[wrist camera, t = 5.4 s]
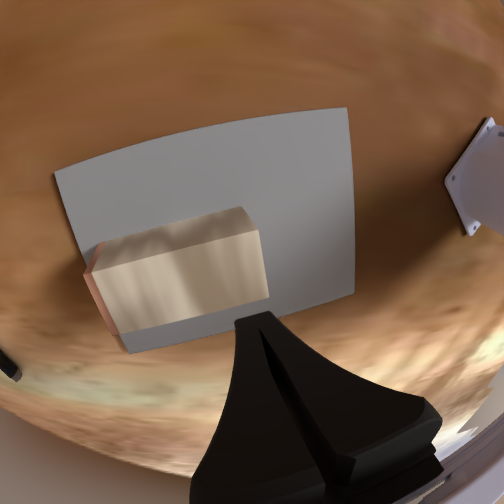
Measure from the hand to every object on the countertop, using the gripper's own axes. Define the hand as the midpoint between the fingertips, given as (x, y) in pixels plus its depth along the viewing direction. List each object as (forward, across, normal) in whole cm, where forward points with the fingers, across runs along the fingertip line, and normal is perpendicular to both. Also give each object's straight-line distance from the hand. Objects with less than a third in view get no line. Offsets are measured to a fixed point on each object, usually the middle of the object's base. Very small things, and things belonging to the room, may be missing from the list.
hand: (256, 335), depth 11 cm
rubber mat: (+9, 0, 0) cm, 9 cm away
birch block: (+7, -2, 0) cm, 7 cm away
